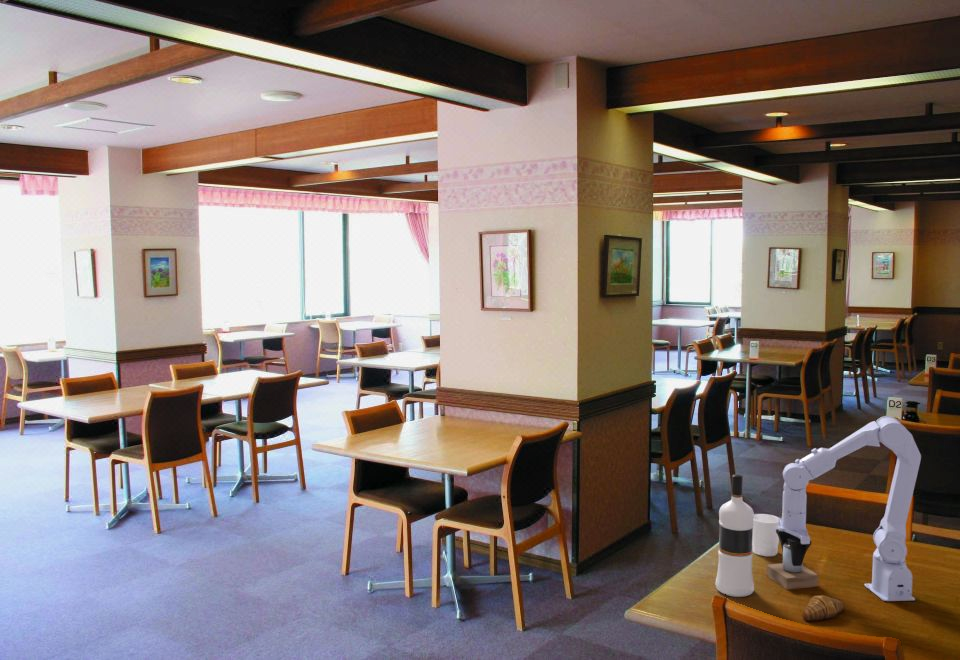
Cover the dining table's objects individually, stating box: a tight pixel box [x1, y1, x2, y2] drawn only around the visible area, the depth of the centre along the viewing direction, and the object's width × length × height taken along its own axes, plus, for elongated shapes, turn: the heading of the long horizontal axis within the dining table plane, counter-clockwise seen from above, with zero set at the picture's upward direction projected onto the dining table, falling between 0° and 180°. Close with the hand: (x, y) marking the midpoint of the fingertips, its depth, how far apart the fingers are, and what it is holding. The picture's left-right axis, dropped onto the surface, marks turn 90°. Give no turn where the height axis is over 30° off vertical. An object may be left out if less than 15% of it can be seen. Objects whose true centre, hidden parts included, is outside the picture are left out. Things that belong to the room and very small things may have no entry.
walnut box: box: [765, 562, 819, 590], centre depth 206 cm, size 9×9×3 cm
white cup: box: [752, 513, 780, 557], centre depth 226 cm, size 8×8×10 cm
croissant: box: [802, 594, 845, 622], centre depth 187 cm, size 14×7×5 cm, turn 120°
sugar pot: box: [782, 542, 804, 572], centre depth 206 cm, size 5×5×6 cm
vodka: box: [715, 473, 755, 598], centre depth 199 cm, size 9×9×30 cm
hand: (792, 561), depth 206 cm, fingers open, 5 cm apart
